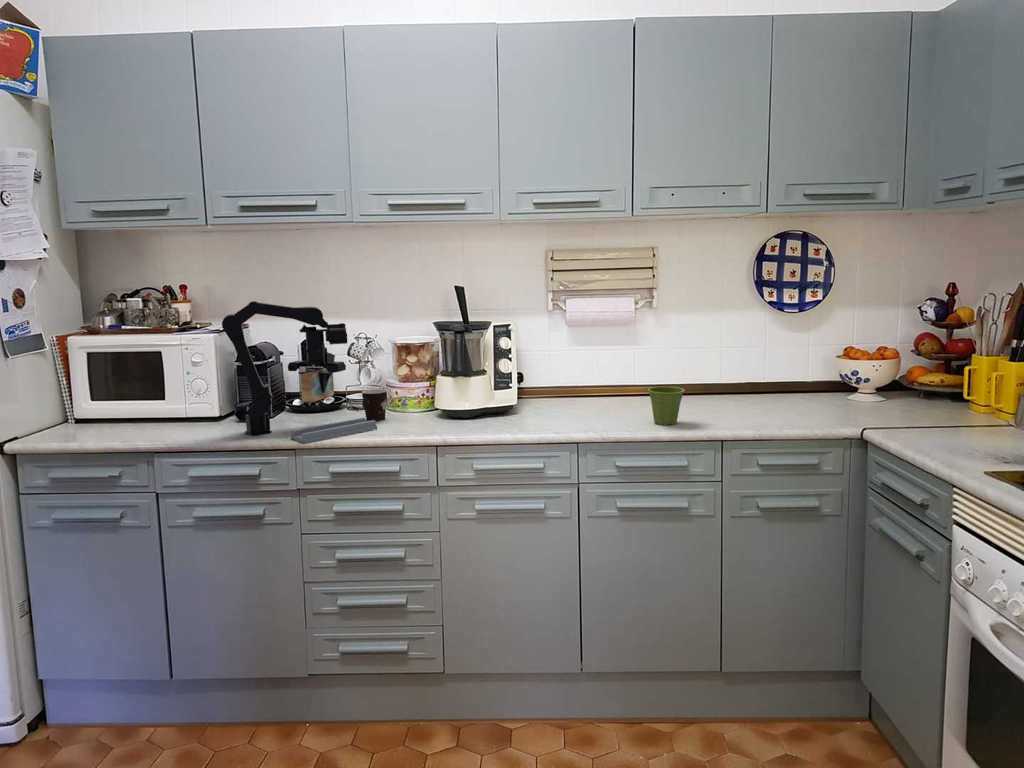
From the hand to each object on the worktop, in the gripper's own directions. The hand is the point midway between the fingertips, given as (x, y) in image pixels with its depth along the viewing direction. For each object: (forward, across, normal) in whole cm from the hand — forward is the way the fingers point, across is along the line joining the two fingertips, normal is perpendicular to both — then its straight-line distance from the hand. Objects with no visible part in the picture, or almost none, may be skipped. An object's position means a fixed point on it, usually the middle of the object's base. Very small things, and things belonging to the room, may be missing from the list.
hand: (318, 392), depth 256 cm
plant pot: (+12, -110, -30) cm, 115 cm away
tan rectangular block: (+2, 0, 0) cm, 2 cm away
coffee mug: (+12, -12, -14) cm, 22 cm away
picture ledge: (+12, -10, +8) cm, 17 cm away
